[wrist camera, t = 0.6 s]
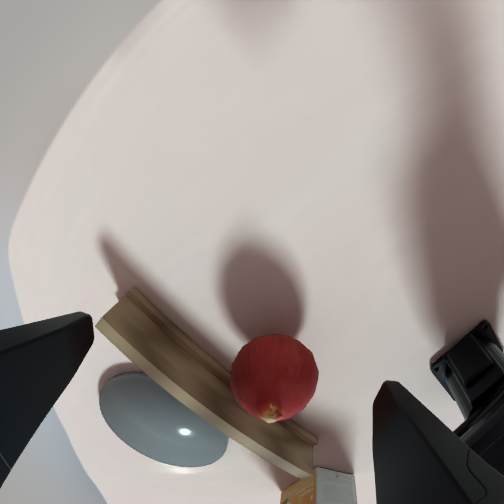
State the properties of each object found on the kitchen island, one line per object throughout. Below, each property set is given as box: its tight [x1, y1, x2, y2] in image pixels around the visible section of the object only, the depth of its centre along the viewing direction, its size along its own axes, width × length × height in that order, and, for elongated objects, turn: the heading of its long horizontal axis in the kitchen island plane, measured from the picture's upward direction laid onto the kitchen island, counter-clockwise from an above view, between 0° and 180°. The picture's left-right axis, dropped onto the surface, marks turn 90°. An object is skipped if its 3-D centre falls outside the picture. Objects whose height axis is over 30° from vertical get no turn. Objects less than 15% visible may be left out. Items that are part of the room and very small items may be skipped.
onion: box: [230, 334, 319, 423], centre depth 20 cm, size 6×6×8 cm
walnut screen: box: [95, 287, 318, 480], centre depth 23 cm, size 22×2×4 cm, turn 45°
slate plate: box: [99, 372, 229, 467], centre depth 28 cm, size 14×14×1 cm
